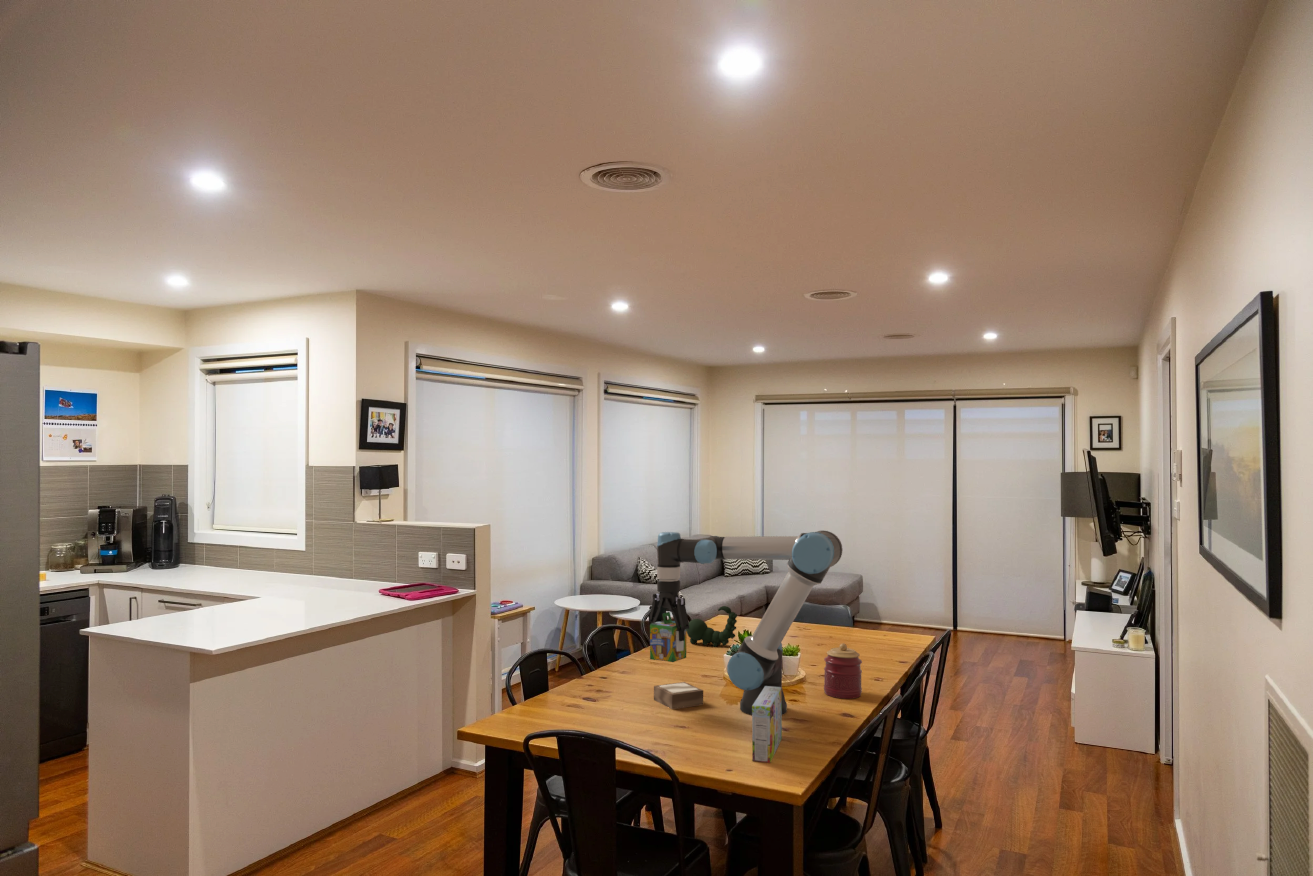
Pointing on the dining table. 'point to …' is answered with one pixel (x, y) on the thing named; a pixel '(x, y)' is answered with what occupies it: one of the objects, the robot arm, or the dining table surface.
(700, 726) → the dining table surface
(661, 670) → the dining table surface
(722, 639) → the toy figurine
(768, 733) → the snack box
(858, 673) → the canister
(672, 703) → the riser
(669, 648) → the chalk box
